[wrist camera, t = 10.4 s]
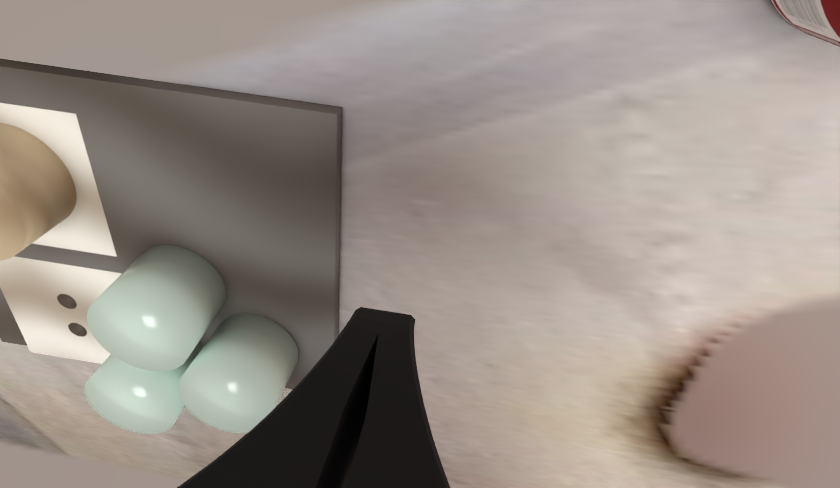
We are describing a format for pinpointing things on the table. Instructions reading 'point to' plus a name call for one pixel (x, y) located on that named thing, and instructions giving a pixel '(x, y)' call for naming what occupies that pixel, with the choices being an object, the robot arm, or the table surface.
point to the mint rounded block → (137, 395)
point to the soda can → (813, 17)
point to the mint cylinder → (158, 308)
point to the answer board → (177, 203)
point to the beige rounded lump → (30, 190)
